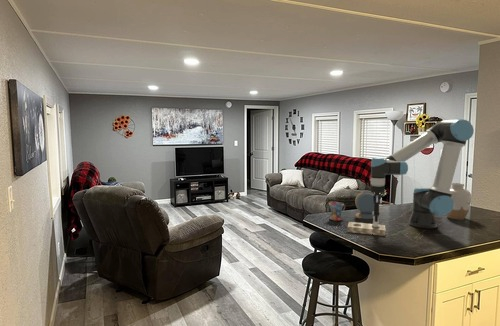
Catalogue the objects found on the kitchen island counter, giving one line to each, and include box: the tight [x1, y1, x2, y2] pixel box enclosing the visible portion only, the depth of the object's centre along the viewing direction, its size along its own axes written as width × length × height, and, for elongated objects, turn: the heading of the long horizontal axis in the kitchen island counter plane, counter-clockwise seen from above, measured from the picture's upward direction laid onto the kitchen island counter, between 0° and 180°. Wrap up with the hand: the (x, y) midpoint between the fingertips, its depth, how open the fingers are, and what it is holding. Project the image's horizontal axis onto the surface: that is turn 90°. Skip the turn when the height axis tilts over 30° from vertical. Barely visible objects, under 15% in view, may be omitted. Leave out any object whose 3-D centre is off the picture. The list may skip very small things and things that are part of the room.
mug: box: [328, 201, 346, 222], centre depth 217 cm, size 12×9×11 cm
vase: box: [445, 182, 472, 221], centre depth 222 cm, size 16×16×23 cm
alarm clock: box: [354, 189, 375, 220], centre depth 224 cm, size 14×10×18 cm
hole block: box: [347, 221, 386, 237], centre depth 193 cm, size 20×11×3 cm, turn 70°
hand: (375, 226), depth 191 cm, fingers closed on peg, 2 cm apart
